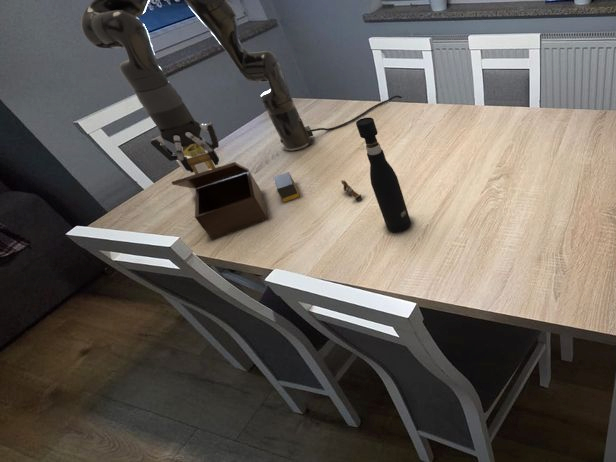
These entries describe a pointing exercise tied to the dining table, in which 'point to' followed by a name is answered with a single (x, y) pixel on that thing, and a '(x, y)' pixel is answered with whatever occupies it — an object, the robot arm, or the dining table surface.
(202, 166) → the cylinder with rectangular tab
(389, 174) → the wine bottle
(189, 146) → the sauce bottle
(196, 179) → the case lid
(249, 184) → the case
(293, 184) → the duster
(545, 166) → the dining table surface
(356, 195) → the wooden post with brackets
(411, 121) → the dining table surface
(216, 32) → the robot arm
